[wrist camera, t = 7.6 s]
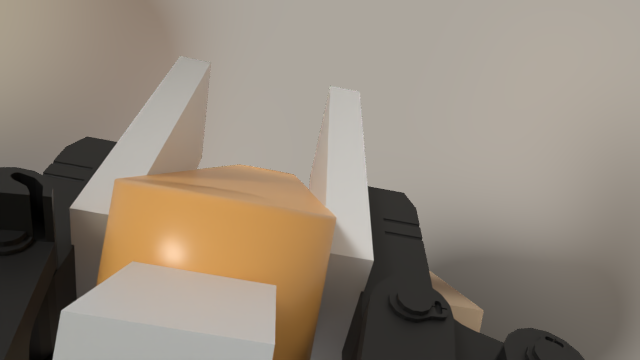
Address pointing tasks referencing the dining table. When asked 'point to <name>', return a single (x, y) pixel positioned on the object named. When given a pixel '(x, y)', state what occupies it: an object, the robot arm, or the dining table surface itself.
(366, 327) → the robot arm
